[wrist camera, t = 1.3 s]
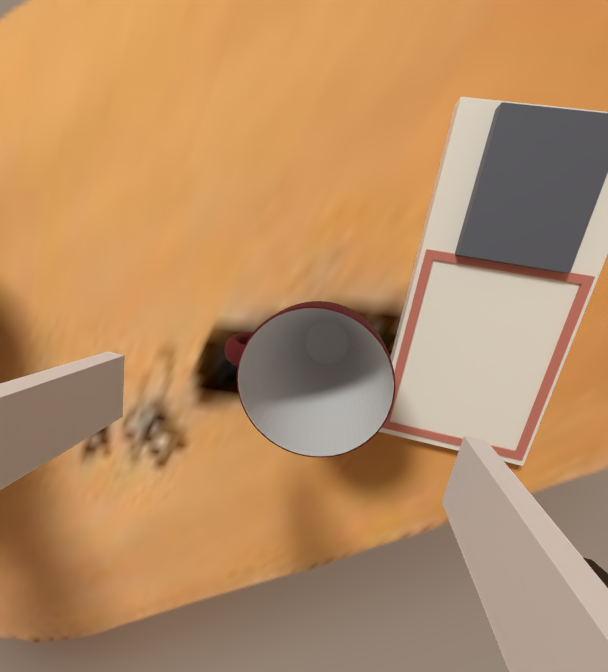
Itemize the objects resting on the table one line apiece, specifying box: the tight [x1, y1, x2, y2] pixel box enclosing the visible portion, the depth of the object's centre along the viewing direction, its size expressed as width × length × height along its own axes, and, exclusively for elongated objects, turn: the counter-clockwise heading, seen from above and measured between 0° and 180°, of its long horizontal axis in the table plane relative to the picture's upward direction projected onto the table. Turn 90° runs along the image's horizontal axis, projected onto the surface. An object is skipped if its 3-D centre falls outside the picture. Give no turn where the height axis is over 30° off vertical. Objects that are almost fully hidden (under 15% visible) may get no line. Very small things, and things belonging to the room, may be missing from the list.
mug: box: [225, 301, 395, 457], centre depth 19 cm, size 10×8×10 cm
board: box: [378, 97, 608, 466], centre depth 21 cm, size 12×24×2 cm, turn 170°
